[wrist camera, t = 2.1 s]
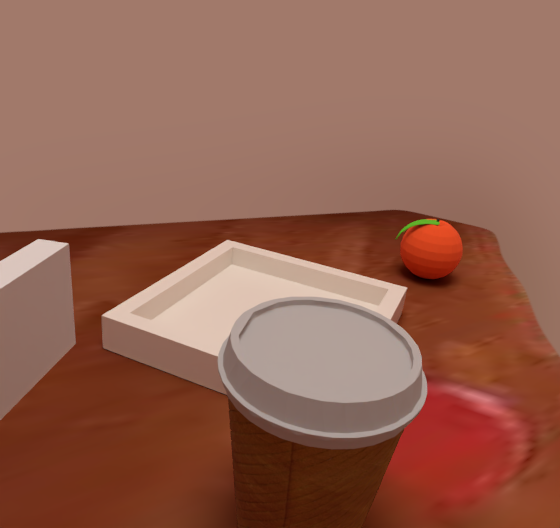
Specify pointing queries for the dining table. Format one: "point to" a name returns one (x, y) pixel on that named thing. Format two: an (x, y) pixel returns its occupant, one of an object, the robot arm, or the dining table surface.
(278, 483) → the disposable coffee cup
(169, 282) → the cream tray
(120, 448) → the dining table surface
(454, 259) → the clementine
